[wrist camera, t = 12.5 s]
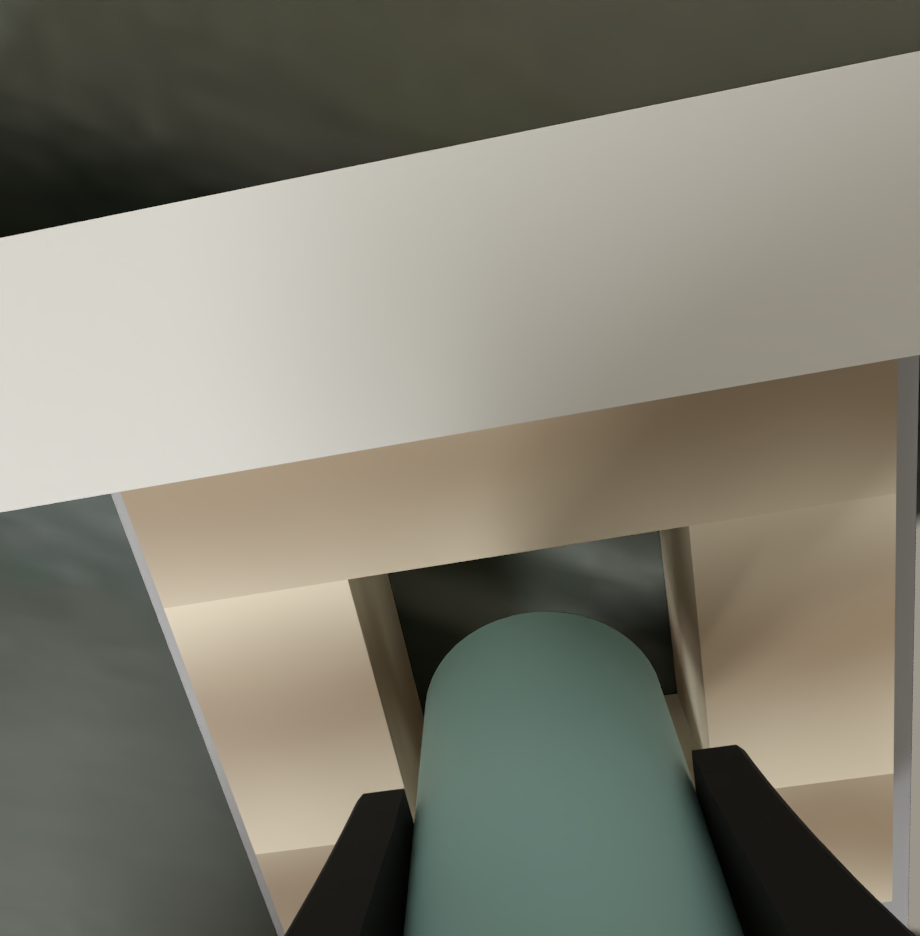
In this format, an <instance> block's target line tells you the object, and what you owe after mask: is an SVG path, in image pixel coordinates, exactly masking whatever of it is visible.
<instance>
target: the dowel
mask: <svg viewBox="0 0 920 936" xmlns="http://www.w3.org/2000/svg"><path fill="white" fill-rule="evenodd" d="M403 936H744V934H743V931H742V928H741V925H740V922H739V919H738V916H737V913H736V910H735V907H734V904H733V901H732V898H731V895H730V892H729V889H728V886H727V883H726V880H725V877H724V874H723V871H722V868H721V865H720V862H719V859H718V856H717V853H716V850H715V847H714V844H713V841H712V838H711V835H710V832H709V829H708V826H707V823H706V821H705V818H704V815H703V812H702V809H701V806H700V803H699V800H698V797H697V794H696V790H695V787H694V784H693V781H692V778H691V775H690V772H689V769H688V766H687V763H686V760H685V757H684V754H683V751H682V748H681V745H680V742H679V739H678V737H677V734H676V731H675V728H674V725H673V722H672V719H671V716H670V713H669V710H668V707H667V704H666V701H665V698H664V695H663V692H662V689H661V686H660V683H659V680H658V677H657V674H656V672H655V670H654V669H653V667H652V665H651V663H650V661H649V660H648V659H647V657H646V656H645V655H644V653H643V652H642V651H641V650H640V649H639V648H638V647H637V646H636V645H635V644H634V643H633V642H632V641H631V640H630V639H628V638H627V637H626V636H624V635H623V634H621V633H620V632H619V631H617V630H615V629H613V628H611V627H610V626H608V625H606V624H604V623H601V622H599V621H596V620H594V619H591V618H587V617H584V616H580V615H576V614H570V613H563V612H531V613H524V614H518V615H513V616H509V617H506V618H503V619H500V620H496V621H494V622H492V623H490V624H487V625H485V626H483V627H481V628H479V629H478V630H476V631H474V632H473V633H471V634H469V635H468V636H467V637H465V638H464V639H463V640H461V641H460V642H459V643H458V644H456V645H455V647H454V648H453V649H452V650H451V651H450V652H449V653H448V654H447V655H446V656H445V658H444V659H443V660H442V662H441V663H440V664H439V666H438V668H437V670H436V671H435V673H434V675H433V677H432V680H431V682H430V685H429V688H428V692H427V698H426V704H425V714H424V725H423V735H422V746H421V756H420V766H419V777H418V787H417V798H416V808H415V819H414V829H413V840H412V850H411V860H410V871H409V881H408V892H407V902H406V913H405V923H404V934H403Z"/></svg>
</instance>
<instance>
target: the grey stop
mask: <svg viewBox="0 0 920 936" xmlns="http://www.w3.org/2000/svg"><path fill="white" fill-rule="evenodd" d="M919 355H920V51H916V52H911V53H906V54H901V55H897V56H892V57H887V58H882V59H877V60H872V61H867V62H862V63H857V64H852V65H847V66H843V67H838V68H833V69H828V70H823V71H818V72H813V73H808V74H803V75H798V76H793V77H789V78H784V79H779V80H774V81H769V82H764V83H759V84H754V85H749V86H744V87H739V88H735V89H730V90H725V91H720V92H715V93H710V94H705V95H700V96H695V97H690V98H685V99H681V100H676V101H671V102H666V103H661V104H656V105H651V106H646V107H641V108H636V109H631V110H627V111H622V112H617V113H612V114H607V115H602V116H597V117H592V118H587V119H582V120H577V121H573V122H568V123H563V124H558V125H553V126H548V127H543V128H538V129H533V130H528V131H523V132H519V133H514V134H509V135H504V136H499V137H494V138H489V139H484V140H479V141H474V142H469V143H465V144H460V145H455V146H450V147H445V148H440V149H435V150H430V151H425V152H420V153H415V154H411V155H406V156H401V157H396V158H391V159H386V160H381V161H376V162H371V163H366V164H361V165H357V166H352V167H347V168H342V169H337V170H332V171H327V172H322V173H317V174H312V175H307V176H303V177H298V178H293V179H288V180H283V181H278V182H273V183H268V184H263V185H258V186H253V187H249V188H244V189H239V190H234V191H229V192H224V193H219V194H214V195H209V196H204V197H199V198H194V199H190V200H185V201H180V202H175V203H170V204H165V205H160V206H155V207H150V208H145V209H140V210H136V211H131V212H126V213H121V214H116V215H111V216H106V217H101V218H96V219H91V220H86V221H82V222H77V223H72V224H67V225H62V226H57V227H52V228H47V229H42V230H37V231H32V232H28V233H23V234H18V235H13V236H8V237H3V238H0V512H5V511H11V510H17V509H23V508H28V507H34V506H40V505H46V504H52V503H58V502H63V501H69V500H75V499H81V498H87V497H93V496H98V495H104V494H110V493H111V495H112V498H113V501H114V503H115V506H116V509H117V511H118V514H119V517H120V519H121V522H122V524H123V527H124V530H125V532H126V535H127V538H128V540H129V543H130V546H131V548H132V551H133V554H134V556H135V559H136V562H137V564H138V567H139V569H140V572H141V575H142V577H143V580H144V583H145V585H146V588H147V591H148V593H149V596H150V599H151V601H152V604H153V606H154V609H155V612H156V614H157V617H158V620H159V622H160V625H161V628H162V630H163V633H164V636H165V638H166V641H167V644H168V646H169V649H170V651H171V654H172V657H173V659H174V662H175V665H176V667H177V670H178V673H179V675H180V678H181V681H182V683H183V686H184V688H185V691H186V694H187V696H188V699H189V702H190V704H191V707H192V710H193V712H194V715H195V718H196V720H197V723H198V726H199V728H200V731H201V733H202V736H203V739H204V741H205V744H206V747H207V749H208V752H209V755H210V757H211V760H212V763H213V765H214V768H215V770H216V773H217V776H218V778H219V781H220V784H221V786H222V789H223V792H224V794H225V797H226V800H227V802H228V805H229V808H230V810H231V813H232V815H233V818H234V821H235V823H236V826H237V829H238V831H239V834H240V837H241V839H242V842H243V845H244V847H245V850H246V852H247V855H248V858H249V860H250V863H251V866H252V868H253V871H254V874H255V876H256V879H257V882H258V884H259V887H260V890H261V892H262V895H263V897H264V900H265V903H266V905H267V908H268V911H269V913H270V916H271V919H272V921H273V924H274V927H275V929H276V932H277V934H278V936H284V935H285V932H284V930H283V927H282V924H281V922H280V919H279V916H278V914H277V911H276V908H275V906H274V903H273V900H272V897H271V895H270V892H269V889H268V887H267V884H266V881H265V879H264V876H263V873H262V871H261V868H260V865H259V863H258V860H257V857H256V855H255V852H254V849H253V847H252V844H251V841H250V839H249V836H248V833H247V830H246V828H245V825H244V822H243V820H242V817H241V814H240V812H239V809H238V806H237V804H236V801H235V798H234V796H233V793H232V790H231V788H230V785H229V782H228V780H227V777H226V774H225V772H224V769H223V766H222V763H221V761H220V758H219V755H218V753H217V750H216V747H215V745H214V742H213V739H212V737H211V734H210V731H209V729H208V726H207V723H206V721H205V718H204V715H203V713H202V710H201V707H200V705H199V702H198V699H197V696H196V694H195V691H194V688H193V686H192V683H191V680H190V678H189V675H188V672H187V670H186V667H185V664H184V662H183V659H182V656H181V654H180V651H179V648H178V646H177V643H176V640H175V638H174V635H173V632H172V629H171V627H170V624H169V621H168V619H167V616H166V613H165V611H164V608H163V605H162V603H161V600H160V597H159V595H158V592H157V589H156V587H155V584H154V581H153V579H152V576H151V573H150V571H149V568H148V565H147V562H146V560H145V557H144V554H143V552H142V549H141V546H140V544H139V541H138V538H137V536H136V533H135V530H134V528H133V525H132V522H131V520H130V517H129V514H128V512H127V509H126V506H125V504H124V501H123V498H122V495H121V493H120V492H122V491H128V490H133V489H139V488H145V487H151V486H157V485H163V484H168V483H174V482H180V481H186V480H192V479H198V478H204V477H209V476H215V475H221V474H227V473H233V472H239V471H244V470H250V469H256V468H262V467H268V466H274V465H279V464H285V463H291V462H297V461H303V460H309V459H314V458H320V457H326V456H332V455H338V454H344V453H349V452H355V451H361V450H367V449H373V448H379V447H384V446H390V445H396V444H402V443H408V442H414V441H419V440H425V439H431V438H437V437H443V436H449V435H454V434H460V433H466V432H472V431H478V430H484V429H489V428H495V427H501V426H507V425H513V424H519V423H524V422H530V421H536V420H542V419H548V418H554V417H559V416H565V415H571V414H577V413H583V412H589V411H594V410H600V409H606V408H612V407H618V406H624V405H630V404H635V403H641V402H647V401H653V400H659V399H665V398H670V397H676V396H682V395H688V394H694V393H700V392H705V391H711V390H717V389H723V388H729V387H735V386H740V385H746V384H752V383H758V382H764V381H770V380H775V379H781V378H787V377H793V376H799V375H805V374H810V373H816V372H822V371H828V370H834V369H840V368H845V367H851V366H857V365H863V364H869V363H875V362H880V361H886V360H892V359H897V462H896V567H895V671H894V775H893V880H892V901H890V902H881V903H882V904H883V905H884V906H885V907H886V908H887V909H888V910H889V911H890V912H891V913H892V914H893V915H894V916H895V917H896V918H897V919H898V920H900V921H901V922H902V923H903V924H904V925H905V926H906V927H907V928H908V906H909V904H908V903H909V855H910V803H911V753H912V752H911V751H912V703H913V701H912V700H913V697H912V696H913V650H914V601H915V550H916V548H915V547H916V499H917V448H918V397H919Z"/></svg>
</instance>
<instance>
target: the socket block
mask: <svg viewBox="0 0 920 936" xmlns="http://www.w3.org/2000/svg"><path fill="white" fill-rule="evenodd" d="M896 462H897V359H892V360H886V361H880V362H875V363H869V364H863V365H857V366H851V367H845V368H840V369H834V370H828V371H822V372H816V373H810V374H805V375H799V376H793V377H787V378H781V379H775V380H770V381H764V382H758V383H752V384H746V385H740V386H735V387H729V388H723V389H717V390H711V391H705V392H700V393H694V394H688V395H682V396H676V397H670V398H665V399H659V400H653V401H647V402H641V403H635V404H630V405H624V406H618V407H612V408H606V409H600V410H594V411H589V412H583V413H577V414H571V415H565V416H559V417H554V418H548V419H542V420H536V421H530V422H524V423H519V424H513V425H507V426H501V427H495V428H489V429H484V430H478V431H472V432H466V433H460V434H454V435H449V436H443V437H437V438H431V439H425V440H419V441H414V442H408V443H402V444H396V445H390V446H384V447H379V448H373V449H367V450H361V451H355V452H349V453H344V454H338V455H332V456H326V457H320V458H314V459H309V460H303V461H297V462H291V463H285V464H279V465H274V466H268V467H262V468H256V469H250V470H244V471H239V472H233V473H227V474H221V475H215V476H209V477H204V478H198V479H192V480H186V481H180V482H174V483H168V484H163V485H157V486H151V487H145V488H139V489H133V490H128V491H122V492H120V493H121V495H122V498H123V501H124V504H125V506H126V509H127V512H128V514H129V517H130V520H131V522H132V525H133V528H134V530H135V533H136V536H137V538H138V541H139V544H140V546H141V549H142V552H143V554H144V557H145V560H146V562H147V565H148V568H149V571H150V573H151V576H152V579H153V581H154V584H155V587H156V589H157V592H158V595H159V597H160V600H161V603H162V605H163V608H164V611H165V613H166V616H167V619H168V621H169V624H170V627H171V629H172V632H173V635H174V638H175V640H176V643H177V646H178V648H179V651H180V654H181V656H182V659H183V662H184V664H185V667H186V670H187V672H188V675H189V678H190V680H191V683H192V686H193V688H194V691H195V694H196V696H197V699H198V702H199V705H200V707H201V710H202V713H203V715H204V718H205V721H206V723H207V726H208V729H209V731H210V734H211V737H212V739H213V742H214V745H215V747H216V750H217V753H218V755H219V758H220V761H221V763H222V766H223V769H224V772H225V774H226V777H227V780H228V782H229V785H230V788H231V790H232V793H233V796H234V798H235V801H236V804H237V806H238V809H239V812H240V814H241V817H242V820H243V822H244V825H245V828H246V830H247V833H248V836H249V839H250V841H251V844H252V847H253V849H254V852H255V855H256V857H257V860H258V863H259V865H260V868H261V871H262V873H263V876H264V879H265V881H266V884H267V887H268V889H269V892H270V895H271V897H272V900H273V903H274V906H275V908H276V911H277V914H278V916H279V919H280V922H281V924H282V927H283V930H284V932H285V933H286V932H287V930H288V928H289V927H290V925H291V923H292V922H293V920H294V918H295V916H296V915H297V913H298V911H299V909H300V908H301V906H302V904H303V902H304V901H305V899H306V897H307V895H308V894H309V892H310V890H311V888H312V887H313V885H314V883H315V881H316V880H317V878H318V876H319V874H320V872H321V870H322V868H323V867H324V865H325V863H326V861H327V859H328V857H329V855H330V854H331V852H332V850H333V848H334V846H335V844H336V842H337V840H338V838H339V836H340V834H341V832H342V830H343V828H344V826H345V824H346V822H347V820H348V818H349V816H350V814H351V812H352V810H353V808H354V806H355V804H356V802H357V800H358V799H359V798H360V797H361V796H362V794H365V793H372V792H380V791H387V790H395V789H403V788H404V789H405V792H406V796H407V800H408V803H409V807H410V811H411V814H412V818H413V822H414V819H415V808H416V798H417V787H418V777H419V766H420V756H421V746H422V735H423V725H424V716H423V713H422V709H421V705H420V701H419V697H418V693H417V689H416V685H415V681H414V677H413V673H412V669H411V665H410V661H409V657H408V653H407V649H406V645H405V641H404V637H403V633H402V629H401V625H400V621H399V617H398V613H397V609H396V605H395V601H394V597H393V593H392V589H391V585H390V581H389V577H388V573H393V572H399V571H405V570H412V569H418V568H424V567H431V566H437V565H443V564H450V563H456V562H463V561H469V560H475V559H482V558H488V557H494V556H501V555H507V554H514V553H520V552H526V551H533V550H539V549H545V548H552V547H558V546H564V545H571V544H577V543H584V542H590V541H596V540H603V539H609V538H615V537H622V536H628V535H635V534H641V533H647V532H654V531H660V539H661V549H662V558H663V567H664V576H665V585H666V594H667V604H668V613H669V622H670V631H671V640H672V649H673V658H674V668H675V677H676V686H677V694H671V695H664V698H665V701H666V704H667V707H668V710H669V713H670V716H671V719H672V722H673V725H674V728H675V731H676V734H677V737H678V739H679V742H680V745H681V748H682V751H683V754H684V757H685V760H686V763H687V766H688V769H689V772H690V775H691V778H692V781H693V784H694V787H695V780H694V770H693V761H692V751H691V750H698V749H706V748H714V747H721V746H729V745H738V746H739V747H741V748H742V749H744V750H745V751H746V753H747V754H748V755H749V757H750V758H751V759H752V761H753V762H754V763H755V765H756V766H757V767H758V769H759V770H760V771H761V772H762V774H763V775H764V776H765V777H766V779H767V780H768V781H769V782H770V784H771V785H772V786H773V787H774V788H775V790H776V791H777V792H778V793H779V795H780V796H781V797H782V798H783V799H784V800H785V802H786V803H787V804H788V805H789V806H790V807H791V809H792V810H793V811H794V812H795V813H796V814H797V815H798V817H799V818H800V819H801V820H802V821H803V822H804V823H805V824H806V826H807V827H808V828H809V829H810V830H811V831H812V832H813V833H814V834H815V836H816V837H817V838H818V839H819V840H820V841H821V842H822V843H823V844H824V845H825V846H826V847H827V848H828V849H829V850H830V851H831V852H832V854H833V855H834V856H835V857H836V858H837V859H838V860H839V861H840V862H841V863H842V864H843V865H844V866H845V867H846V868H847V869H848V870H849V871H850V872H851V874H852V875H853V876H854V877H855V878H856V879H857V880H858V881H859V882H860V883H861V884H862V885H863V886H864V887H865V888H866V889H867V890H868V891H869V892H870V893H871V894H872V895H873V896H874V897H875V898H876V899H877V900H879V901H880V902H890V901H892V880H893V775H894V671H895V567H896ZM695 790H696V789H695Z"/></svg>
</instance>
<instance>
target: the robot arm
mask: <svg viewBox="0 0 920 936" xmlns="http://www.w3.org/2000/svg"><path fill="white" fill-rule="evenodd" d="M691 751H692V761H693V770H694V780H695V789H696V794H697V797H698V800H699V803H700V806H701V809H702V812H703V815H704V818H705V821H706V823H707V826H708V829H709V832H710V835H711V838H712V841H713V844H714V847H715V850H716V853H717V856H718V859H719V862H720V865H721V868H722V871H723V874H724V877H725V880H726V883H727V886H728V889H729V892H730V895H731V898H732V901H733V904H734V907H735V910H736V913H737V916H738V919H739V922H740V925H741V928H742V931H743V934H744V936H916V935H914V934H913V933H912V932H911V931H910V930H909V929H908V928H907V927H906V926H905V925H904V924H903V923H902V922H901V921H900V920H898V919H897V918H896V917H895V916H894V915H893V914H892V913H891V912H890V911H889V910H888V909H887V908H886V907H885V906H884V905H883V904H882V903H881V902H880V901H879V900H877V899H876V898H875V897H874V896H873V895H872V894H871V893H870V892H869V891H868V890H867V889H866V888H865V887H864V886H863V885H862V884H861V883H860V882H859V881H858V880H857V879H856V878H855V877H854V876H853V875H852V874H851V872H850V871H849V870H848V869H847V868H846V867H845V866H844V865H843V864H842V863H841V862H840V861H839V860H838V859H837V858H836V857H835V856H834V855H833V854H832V852H831V851H830V850H829V849H828V848H827V847H826V846H825V845H824V844H823V843H822V842H821V841H820V840H819V839H818V838H817V837H816V836H815V834H814V833H813V832H812V831H811V830H810V829H809V828H808V827H807V826H806V824H805V823H804V822H803V821H802V820H801V819H800V818H799V817H798V815H797V814H796V813H795V812H794V811H793V810H792V809H791V807H790V806H789V805H788V804H787V803H786V802H785V800H784V799H783V798H782V797H781V796H780V795H779V793H778V792H777V791H776V790H775V788H774V787H773V786H772V785H771V784H770V782H769V781H768V780H767V779H766V777H765V776H764V775H763V774H762V772H761V771H760V770H759V769H758V767H757V766H756V765H755V763H754V762H753V761H752V759H751V758H750V757H749V755H748V754H747V753H746V751H745V750H744V749H742V748H741V747H739V746H738V745H729V746H721V747H714V748H706V749H698V750H691ZM413 829H414V822H413V818H412V814H411V811H410V807H409V803H408V800H407V796H406V792H405V789H404V788H403V789H395V790H387V791H380V792H372V793H365V794H362V796H361V797H360V798H359V799H358V800H357V802H356V804H355V806H354V808H353V810H352V812H351V814H350V816H349V818H348V820H347V822H346V824H345V826H344V828H343V830H342V832H341V834H340V836H339V838H338V840H337V842H336V844H335V846H334V848H333V850H332V852H331V854H330V855H329V857H328V859H327V861H326V863H325V865H324V867H323V868H322V870H321V872H320V874H319V876H318V878H317V880H316V881H315V883H314V885H313V887H312V888H311V890H310V892H309V894H308V895H307V897H306V899H305V901H304V902H303V904H302V906H301V908H300V909H299V911H298V913H297V915H296V916H295V918H294V920H293V922H292V923H291V925H290V927H289V928H288V930H287V932H286V933H285V935H284V936H403V934H404V923H405V913H406V902H407V892H408V881H409V871H410V860H411V850H412V840H413Z"/></svg>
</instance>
